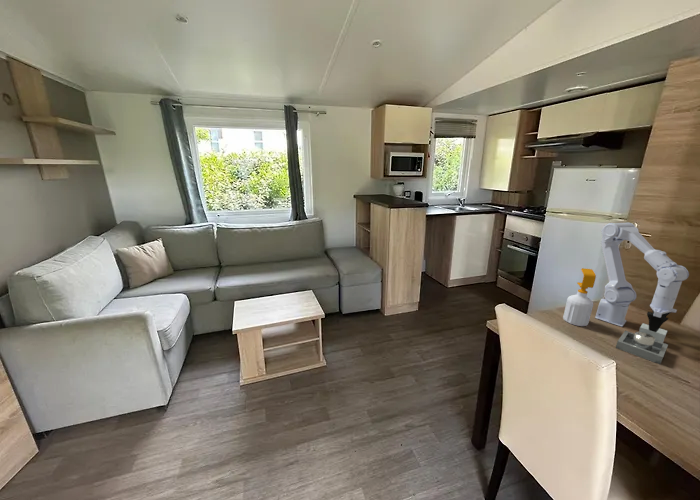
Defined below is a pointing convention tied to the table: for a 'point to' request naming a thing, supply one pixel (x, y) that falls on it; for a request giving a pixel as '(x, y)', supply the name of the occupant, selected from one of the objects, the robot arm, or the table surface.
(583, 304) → the soap bottle
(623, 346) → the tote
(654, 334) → the pale upright block
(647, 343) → the metal can
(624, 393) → the table surface
